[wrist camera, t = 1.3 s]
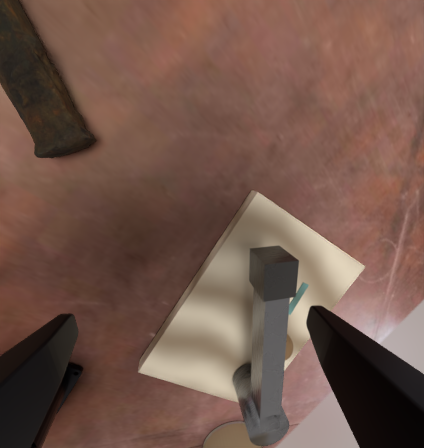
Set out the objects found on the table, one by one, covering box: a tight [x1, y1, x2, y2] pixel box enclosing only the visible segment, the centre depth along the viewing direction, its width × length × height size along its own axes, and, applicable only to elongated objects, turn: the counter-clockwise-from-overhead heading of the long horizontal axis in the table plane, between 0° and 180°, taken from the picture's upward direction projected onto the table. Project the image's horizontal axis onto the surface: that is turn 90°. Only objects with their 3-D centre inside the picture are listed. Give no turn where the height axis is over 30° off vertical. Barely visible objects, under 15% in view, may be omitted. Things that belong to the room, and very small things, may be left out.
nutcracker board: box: [138, 190, 365, 403], centre depth 24 cm, size 22×16×4 cm
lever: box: [233, 245, 299, 446], centre depth 21 cm, size 20×4×6 cm, turn 2°
